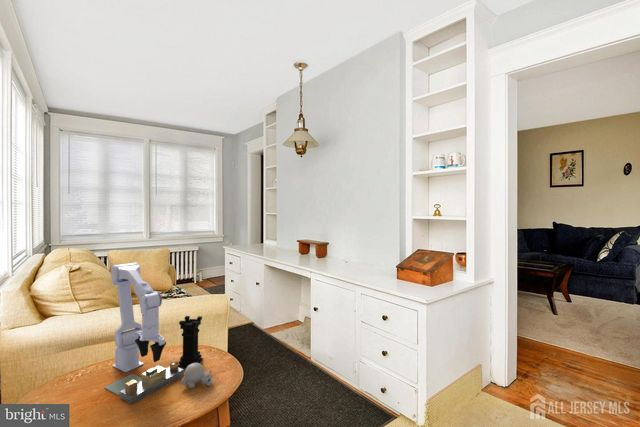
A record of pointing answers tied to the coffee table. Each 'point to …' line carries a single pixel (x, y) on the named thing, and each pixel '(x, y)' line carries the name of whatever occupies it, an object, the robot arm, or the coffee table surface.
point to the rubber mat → (121, 384)
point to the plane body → (141, 390)
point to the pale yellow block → (153, 375)
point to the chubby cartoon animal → (196, 375)
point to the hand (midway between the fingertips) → (150, 358)
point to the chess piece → (190, 341)
